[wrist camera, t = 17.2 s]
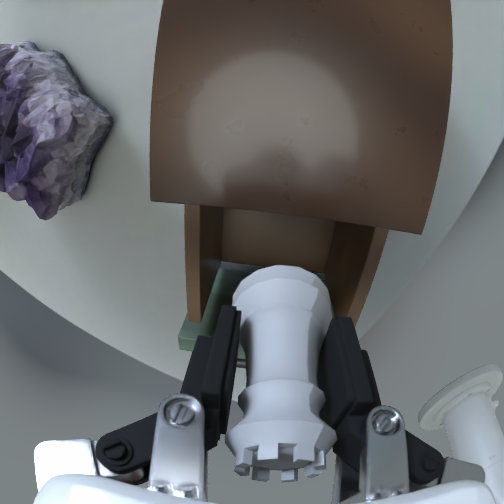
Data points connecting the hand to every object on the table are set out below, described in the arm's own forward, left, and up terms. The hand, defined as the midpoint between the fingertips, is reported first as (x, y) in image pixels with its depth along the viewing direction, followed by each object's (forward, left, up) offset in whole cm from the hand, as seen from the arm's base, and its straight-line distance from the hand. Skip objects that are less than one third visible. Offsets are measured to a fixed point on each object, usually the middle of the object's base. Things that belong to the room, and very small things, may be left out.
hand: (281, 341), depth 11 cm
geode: (+23, -9, -14) cm, 29 cm away
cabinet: (0, -11, -14) cm, 18 cm away
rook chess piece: (0, 0, -3) cm, 3 cm away
